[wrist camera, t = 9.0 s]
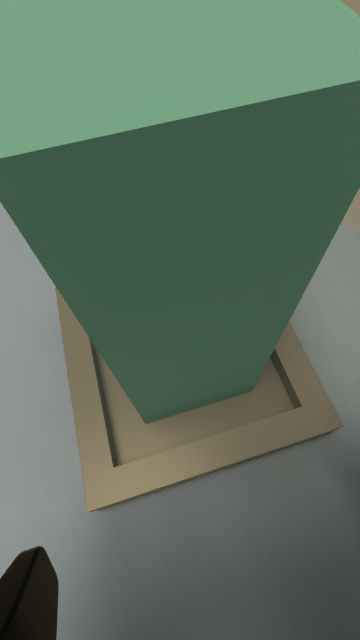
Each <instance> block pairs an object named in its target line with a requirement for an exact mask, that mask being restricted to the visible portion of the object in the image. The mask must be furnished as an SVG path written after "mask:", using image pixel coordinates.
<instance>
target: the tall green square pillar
mask: <svg viewBox="0 0 360 640" xmlns="http://www.w3.org/2000/svg"><path fill="white" fill-rule="evenodd" d="M359 187H360V16H359V15H358V14H356V13H355V12H354V11H352V10H351V9H350V8H349V7H347V6H346V5H345V4H344V3H342V2H341V1H340V0H0V202H1V203H2V205H3V206H4V208H5V209H6V211H7V212H8V214H9V215H10V217H11V218H12V220H13V222H14V223H15V225H16V226H17V228H18V229H19V231H20V232H21V234H22V235H23V237H24V238H25V240H26V241H27V243H28V245H29V246H30V248H31V249H32V251H33V252H34V254H35V255H36V257H37V258H38V260H39V261H40V263H41V264H42V266H43V268H44V269H45V271H46V272H47V274H48V275H49V277H50V278H51V280H52V281H53V283H54V284H55V286H56V287H57V289H58V291H59V292H60V294H61V295H62V297H63V298H64V300H65V301H66V303H67V304H68V306H69V307H70V309H71V310H72V312H73V313H74V315H75V317H76V318H77V320H78V321H79V323H80V324H81V326H82V327H83V329H84V330H85V332H86V333H87V335H88V336H89V338H90V340H91V341H92V343H93V344H94V346H95V347H96V349H97V350H98V352H99V353H100V355H101V356H102V358H103V359H104V361H105V363H106V364H107V366H108V367H109V369H110V370H111V372H112V373H113V375H114V376H115V378H116V379H117V381H118V382H119V384H120V386H121V387H122V389H123V390H124V392H125V393H126V395H127V396H128V398H129V399H130V401H131V402H132V404H133V405H134V407H135V409H136V410H137V412H138V413H139V415H140V416H141V418H142V419H143V421H144V422H145V424H148V423H151V422H154V421H158V420H161V419H164V418H167V417H170V416H174V415H177V414H180V413H183V412H187V411H190V410H193V409H196V408H199V407H203V406H206V405H209V404H212V403H216V402H219V401H222V400H225V399H228V398H232V397H235V396H238V395H241V394H245V393H248V392H251V391H252V390H253V388H254V386H255V385H256V383H257V381H258V379H259V377H260V375H261V373H262V371H263V369H264V367H265V366H266V364H267V362H268V360H269V358H270V356H271V354H272V352H273V350H274V349H275V347H276V345H277V343H278V341H279V339H280V337H281V335H282V333H283V331H284V330H285V328H286V326H287V324H288V322H289V320H290V318H291V316H292V314H293V312H294V311H295V309H296V307H297V305H298V303H299V301H300V299H301V297H302V295H303V294H304V292H305V290H306V288H307V286H308V284H309V282H310V280H311V278H312V276H313V275H314V273H315V271H316V269H317V267H318V265H319V263H320V261H321V259H322V258H323V256H324V254H325V252H326V250H327V248H328V246H329V244H330V242H331V240H332V239H333V237H334V235H335V233H336V231H337V229H338V227H339V225H340V223H341V222H342V220H343V218H344V216H345V214H346V212H347V210H348V208H349V206H350V204H351V203H352V201H353V199H354V197H355V195H356V193H357V191H358V189H359Z"/></svg>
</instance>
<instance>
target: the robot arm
mask: <svg viewBox="0 0 360 640" xmlns="http://www.w3.org/2000/svg"><path fill="white" fill-rule="evenodd" d="M57 610H58V578H57V575H56V572H55V570H54V568H53V566H52V564H51V561H50V559H49V557H48V555H47V553H46V551H45V549H44V548H43V547H41V546H37V547H34V548H32V549H29V550H26V551H23V552H21V553H20V554H19V555H18V556H17V557H16V558H15V560H14V561H13V562H12V564H11V565H10V566H9V568H8V569H7V570H6V572H5V573H4V574H3V576H2V577H1V578H0V640H56V633H57Z"/></svg>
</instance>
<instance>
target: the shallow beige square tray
mask: <svg viewBox="0 0 360 640" xmlns="http://www.w3.org/2000/svg"><path fill="white" fill-rule="evenodd" d="M55 289H56V296H57V303H58V310H59V317H60V324H61V330H62V337H63V344H64V351H65V358H66V365H67V372H68V379H69V385H70V392H71V399H72V406H73V413H74V420H75V427H76V434H77V440H78V447H79V454H80V461H81V468H82V475H83V482H84V489H85V495H86V502H87V509H88V512H91V511H99V510H102V509H105V508H108V507H111V506H114V505H117V504H120V503H123V502H126V501H129V500H132V499H135V498H138V497H141V496H144V495H147V494H150V493H153V492H156V491H159V490H161V489H164V488H167V487H170V486H173V485H176V484H179V483H182V482H185V481H188V480H191V479H194V478H197V477H200V476H203V475H206V474H209V473H212V472H215V471H218V470H221V469H224V468H227V467H230V466H233V465H236V464H239V463H242V462H245V461H248V460H251V459H254V458H257V457H260V456H263V455H266V454H269V453H272V452H275V451H278V450H281V449H284V448H287V447H290V446H293V445H295V444H298V443H301V442H304V441H307V440H310V439H313V438H316V437H319V436H322V435H325V434H328V433H331V432H333V431H335V430H337V429H339V428H341V427H343V425H342V423H341V421H340V419H339V417H338V415H337V413H336V411H335V409H334V407H333V405H332V403H331V402H330V400H329V398H328V396H327V394H326V392H325V390H324V388H323V386H322V384H321V382H320V380H319V378H318V377H317V375H316V373H315V371H314V369H313V367H312V365H311V363H310V361H309V359H308V357H307V355H306V353H305V352H304V350H303V348H302V346H301V344H300V342H299V340H298V338H297V336H296V334H295V332H294V330H293V328H292V327H291V325H290V323H289V322H288V324H287V326H286V328H285V330H284V331H283V333H282V335H281V337H280V339H279V341H278V343H277V345H276V347H275V349H274V350H273V352H272V354H271V356H270V358H269V360H268V362H267V364H266V366H265V367H264V369H263V371H262V373H261V375H260V377H259V379H258V381H257V383H256V385H255V386H254V388H253V390H252V391H251V392H248V393H245V394H241V395H238V396H235V397H232V398H228V399H225V400H222V401H219V402H216V403H212V404H209V405H206V406H203V407H199V408H196V409H193V410H190V411H187V412H183V413H180V414H177V415H174V416H170V417H167V418H164V419H161V420H158V421H154V422H151V423H148V424H145V422H144V421H143V419H142V418H141V416H140V415H139V413H138V412H137V410H136V409H135V407H134V405H133V404H132V402H131V401H130V399H129V398H128V396H127V395H126V393H125V392H124V390H123V389H122V387H121V386H120V384H119V382H118V381H117V379H116V378H115V376H114V375H113V373H112V372H111V370H110V369H109V367H108V366H107V364H106V363H105V361H104V359H103V358H102V356H101V355H100V353H99V352H98V350H97V349H96V347H95V346H94V344H93V343H92V341H91V340H90V338H89V336H88V335H87V333H86V332H85V330H84V329H83V327H82V326H81V324H80V323H79V321H78V320H77V318H76V317H75V315H74V313H73V312H72V310H71V309H70V307H69V306H68V304H67V303H66V301H65V300H64V298H63V297H62V295H61V294H60V292H59V291H58V289H57V288H55Z"/></svg>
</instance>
